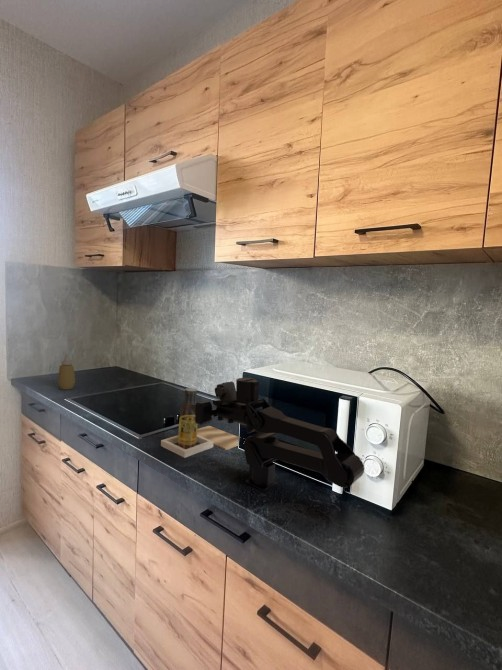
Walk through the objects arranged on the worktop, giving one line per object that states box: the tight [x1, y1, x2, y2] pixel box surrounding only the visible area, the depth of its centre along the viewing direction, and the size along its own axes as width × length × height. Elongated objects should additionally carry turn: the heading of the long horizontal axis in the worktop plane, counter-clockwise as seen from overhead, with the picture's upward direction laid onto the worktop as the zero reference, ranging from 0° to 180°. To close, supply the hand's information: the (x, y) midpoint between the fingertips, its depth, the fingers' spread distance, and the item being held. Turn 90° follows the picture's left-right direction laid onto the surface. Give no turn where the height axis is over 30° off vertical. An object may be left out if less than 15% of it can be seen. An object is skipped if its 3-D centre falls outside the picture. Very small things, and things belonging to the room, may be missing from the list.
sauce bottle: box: [177, 387, 199, 450], centre depth 120 cm, size 6×6×20 cm
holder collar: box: [160, 434, 214, 459], centre depth 121 cm, size 12×12×2 cm
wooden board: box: [197, 425, 240, 451], centre depth 131 cm, size 20×11×1 cm, turn 50°
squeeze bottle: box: [57, 353, 76, 390], centre depth 185 cm, size 8×8×18 cm
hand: (202, 404), depth 114 cm, fingers open, 9 cm apart
